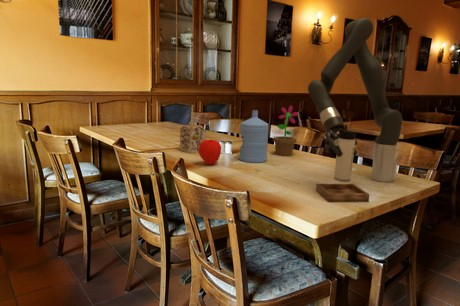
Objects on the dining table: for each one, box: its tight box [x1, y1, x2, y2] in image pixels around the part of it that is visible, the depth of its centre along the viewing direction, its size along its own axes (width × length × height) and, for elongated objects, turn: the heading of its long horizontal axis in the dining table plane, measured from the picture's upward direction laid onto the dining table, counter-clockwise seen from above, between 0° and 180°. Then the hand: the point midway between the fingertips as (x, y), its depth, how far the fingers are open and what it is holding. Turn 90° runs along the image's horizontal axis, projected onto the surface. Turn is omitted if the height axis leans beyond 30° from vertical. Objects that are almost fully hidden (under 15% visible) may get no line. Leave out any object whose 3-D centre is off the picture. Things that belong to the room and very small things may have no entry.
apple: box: [198, 139, 222, 166], centre depth 188 cm, size 12×12×13 cm
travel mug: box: [333, 129, 356, 183], centre depth 139 cm, size 6×7×20 cm
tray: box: [315, 183, 370, 203], centre depth 142 cm, size 16×14×3 cm
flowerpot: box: [272, 105, 299, 157], centre depth 217 cm, size 14×14×30 cm
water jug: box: [238, 109, 269, 164], centre depth 199 cm, size 16×16×28 cm
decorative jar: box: [179, 121, 207, 154], centre depth 220 cm, size 12×12×18 cm
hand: (347, 155), depth 138 cm, fingers closed on travel mug, 6 cm apart
